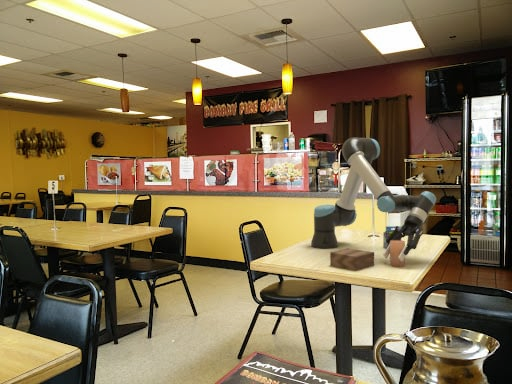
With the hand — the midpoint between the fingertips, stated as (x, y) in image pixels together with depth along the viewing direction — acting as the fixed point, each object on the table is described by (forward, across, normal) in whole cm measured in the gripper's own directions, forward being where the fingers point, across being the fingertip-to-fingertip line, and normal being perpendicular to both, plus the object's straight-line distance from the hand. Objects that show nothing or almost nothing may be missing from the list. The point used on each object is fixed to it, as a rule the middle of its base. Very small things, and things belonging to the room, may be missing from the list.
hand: (392, 257), depth 186 cm
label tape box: (-23, +29, -28) cm, 46 cm away
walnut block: (+12, +11, +7) cm, 18 cm away
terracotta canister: (0, 0, -5) cm, 5 cm away
